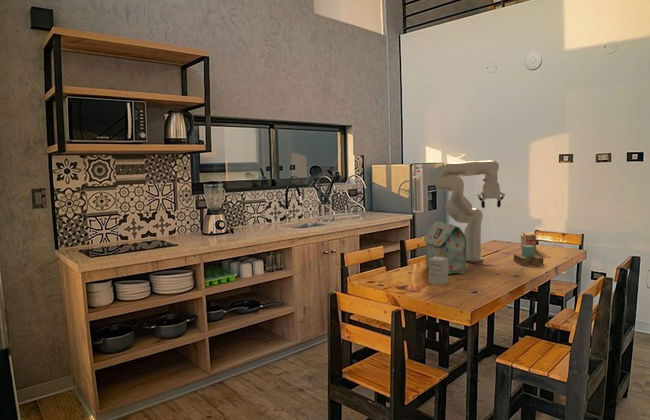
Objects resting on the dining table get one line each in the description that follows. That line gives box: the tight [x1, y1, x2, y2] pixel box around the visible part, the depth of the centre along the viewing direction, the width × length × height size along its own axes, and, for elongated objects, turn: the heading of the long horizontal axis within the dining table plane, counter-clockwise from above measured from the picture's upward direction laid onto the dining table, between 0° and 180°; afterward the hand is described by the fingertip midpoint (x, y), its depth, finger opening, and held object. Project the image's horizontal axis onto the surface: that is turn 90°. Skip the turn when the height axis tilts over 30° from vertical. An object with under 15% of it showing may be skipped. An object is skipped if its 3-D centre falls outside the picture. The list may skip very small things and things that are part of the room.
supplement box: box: [428, 257, 449, 286], centre depth 228 cm, size 7×7×13 cm
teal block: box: [521, 245, 535, 257], centre depth 267 cm, size 5×5×6 cm
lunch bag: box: [423, 220, 467, 275], centre depth 253 cm, size 23×16×27 cm
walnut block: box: [513, 253, 544, 266], centre depth 267 cm, size 12×12×4 cm
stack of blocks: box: [520, 231, 537, 255], centre depth 303 cm, size 21×6×12 cm, turn 165°
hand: (491, 207), depth 292 cm, fingers open, 9 cm apart
